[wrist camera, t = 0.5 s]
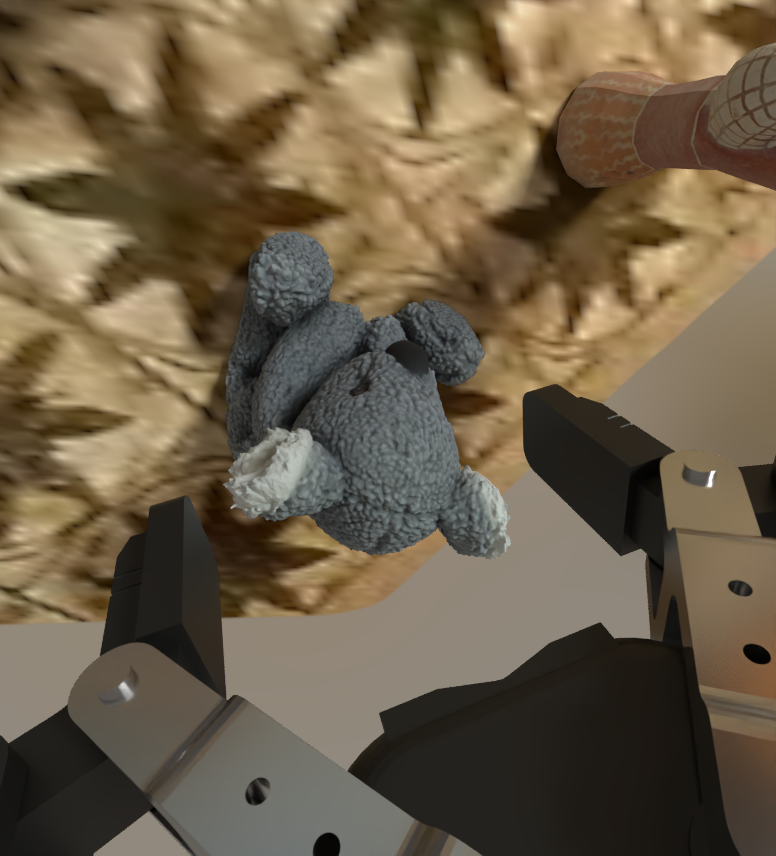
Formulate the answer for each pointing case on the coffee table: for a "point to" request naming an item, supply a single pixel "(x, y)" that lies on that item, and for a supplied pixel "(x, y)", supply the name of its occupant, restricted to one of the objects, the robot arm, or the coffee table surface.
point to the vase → (672, 124)
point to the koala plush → (351, 412)
